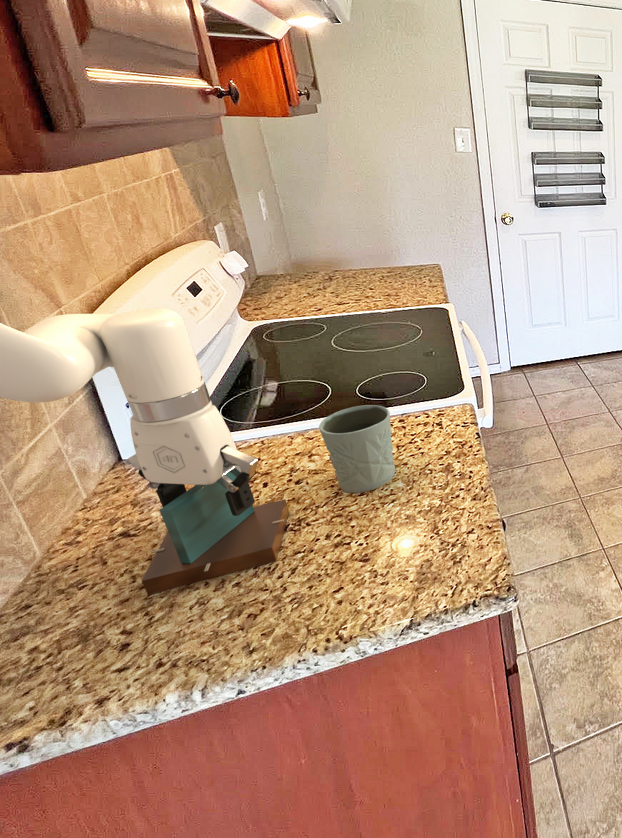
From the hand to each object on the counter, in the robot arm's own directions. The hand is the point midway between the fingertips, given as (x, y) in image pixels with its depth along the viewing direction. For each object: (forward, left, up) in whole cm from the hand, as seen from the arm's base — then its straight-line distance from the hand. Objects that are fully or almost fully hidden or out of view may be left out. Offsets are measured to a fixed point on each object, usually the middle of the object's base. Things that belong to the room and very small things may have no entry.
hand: (211, 508), depth 81 cm
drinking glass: (+18, +11, -8) cm, 22 cm away
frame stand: (0, 0, -8) cm, 8 cm away
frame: (0, 0, -5) cm, 5 cm away
